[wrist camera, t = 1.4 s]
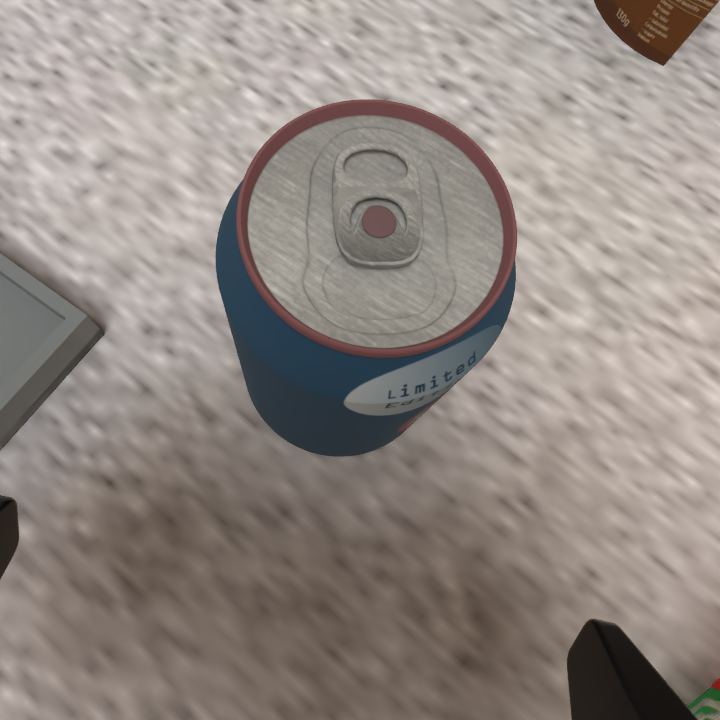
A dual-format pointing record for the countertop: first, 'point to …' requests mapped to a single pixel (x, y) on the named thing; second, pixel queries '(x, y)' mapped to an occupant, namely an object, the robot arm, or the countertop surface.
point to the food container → (654, 23)
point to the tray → (35, 344)
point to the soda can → (364, 271)
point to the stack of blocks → (708, 704)
